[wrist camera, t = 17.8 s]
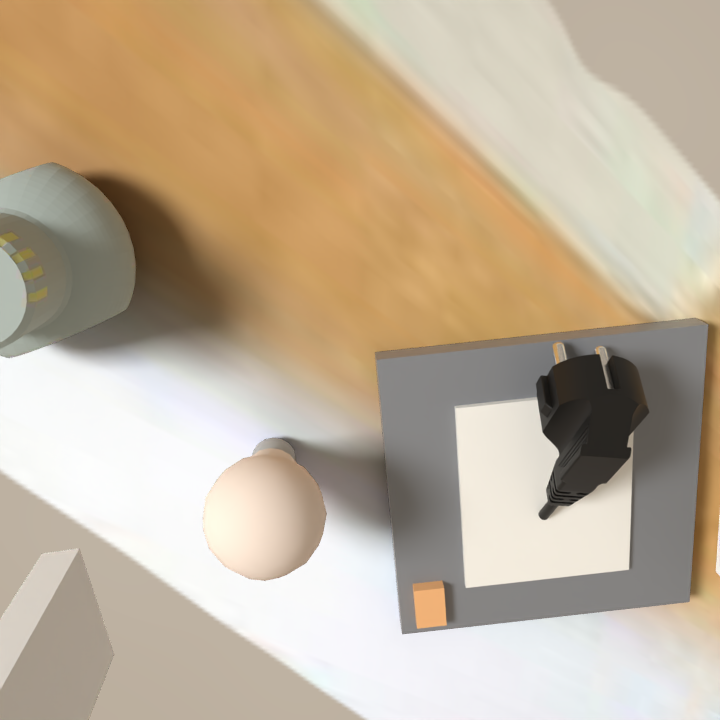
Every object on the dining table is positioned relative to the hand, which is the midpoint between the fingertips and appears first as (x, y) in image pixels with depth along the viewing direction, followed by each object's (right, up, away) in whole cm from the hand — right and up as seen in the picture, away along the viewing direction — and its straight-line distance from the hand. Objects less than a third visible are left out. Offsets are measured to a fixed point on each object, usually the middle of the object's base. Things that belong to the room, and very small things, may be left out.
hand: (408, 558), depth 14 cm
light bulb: (-6, -2, +30) cm, 31 cm away
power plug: (+11, -4, +32) cm, 34 cm away
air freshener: (-19, +10, +25) cm, 33 cm away
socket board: (+11, -4, +31) cm, 33 cm away
